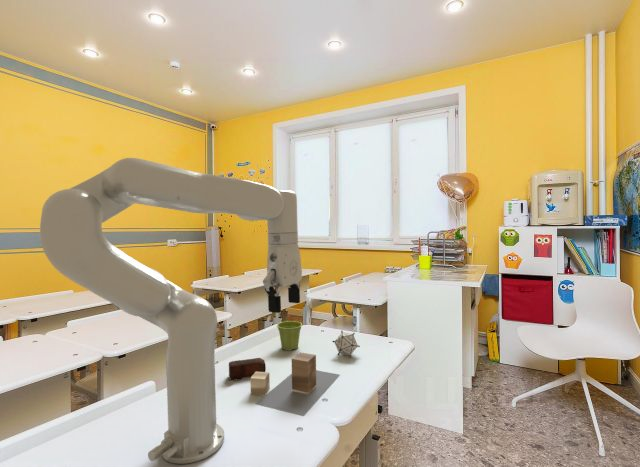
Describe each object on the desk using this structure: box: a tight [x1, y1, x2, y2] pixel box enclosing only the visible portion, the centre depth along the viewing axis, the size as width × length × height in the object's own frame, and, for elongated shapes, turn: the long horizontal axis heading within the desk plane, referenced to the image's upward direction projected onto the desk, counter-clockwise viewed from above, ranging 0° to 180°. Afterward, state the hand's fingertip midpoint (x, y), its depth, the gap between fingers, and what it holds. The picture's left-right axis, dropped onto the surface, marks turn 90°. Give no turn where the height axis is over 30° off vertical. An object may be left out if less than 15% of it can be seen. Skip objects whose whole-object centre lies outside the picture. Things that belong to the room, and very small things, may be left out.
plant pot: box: [276, 320, 303, 351], centre depth 128 cm, size 9×9×9 cm
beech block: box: [249, 371, 271, 397], centre depth 94 cm, size 4×4×5 cm
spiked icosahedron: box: [332, 330, 361, 358], centre depth 120 cm, size 9×8×10 cm
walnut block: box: [291, 352, 317, 395], centre depth 95 cm, size 5×5×9 cm
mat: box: [255, 369, 341, 417], centre depth 96 cm, size 24×14×1 cm, turn 155°
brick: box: [228, 357, 267, 381], centre depth 105 cm, size 11×4×5 cm, turn 111°
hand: (285, 307), depth 87 cm, fingers open, 9 cm apart
